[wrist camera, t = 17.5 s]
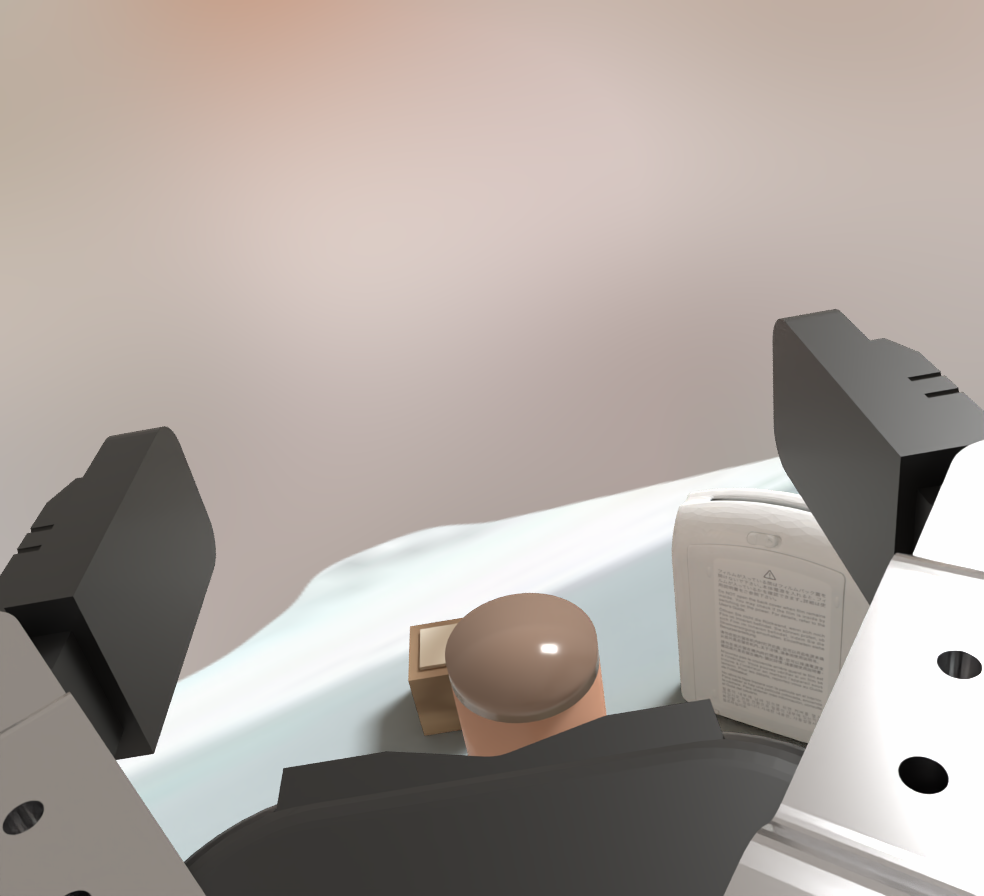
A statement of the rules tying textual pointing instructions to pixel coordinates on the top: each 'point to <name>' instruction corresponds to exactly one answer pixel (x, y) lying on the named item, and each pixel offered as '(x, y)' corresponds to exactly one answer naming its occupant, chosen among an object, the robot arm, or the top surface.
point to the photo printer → (761, 608)
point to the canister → (523, 672)
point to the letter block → (432, 677)
